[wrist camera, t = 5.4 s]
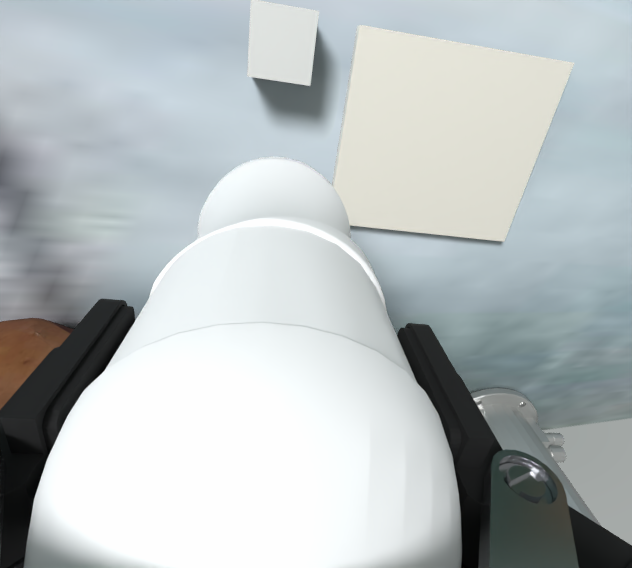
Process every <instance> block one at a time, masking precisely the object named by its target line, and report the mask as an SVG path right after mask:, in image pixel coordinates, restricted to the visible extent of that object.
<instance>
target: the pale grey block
mask: <svg viewBox="0 0 632 568" xmlns="http://www.w3.org/2000/svg"><path fill="white" fill-rule="evenodd" d="M318 16H319V11H316V10H310V9H305V8H299V7H293V6H288V5H282V4H277V3H271V2H265V1H260V0H251V9H250V30H249V50H248V71H247V76H248V77H255V78H261V79H268V80H274V81H281V82H287V83H294V84H301V85H307V86H310V85H311V76H312V67H313V59H314V50H315V42H316V33H317V25H318Z"/></svg>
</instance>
